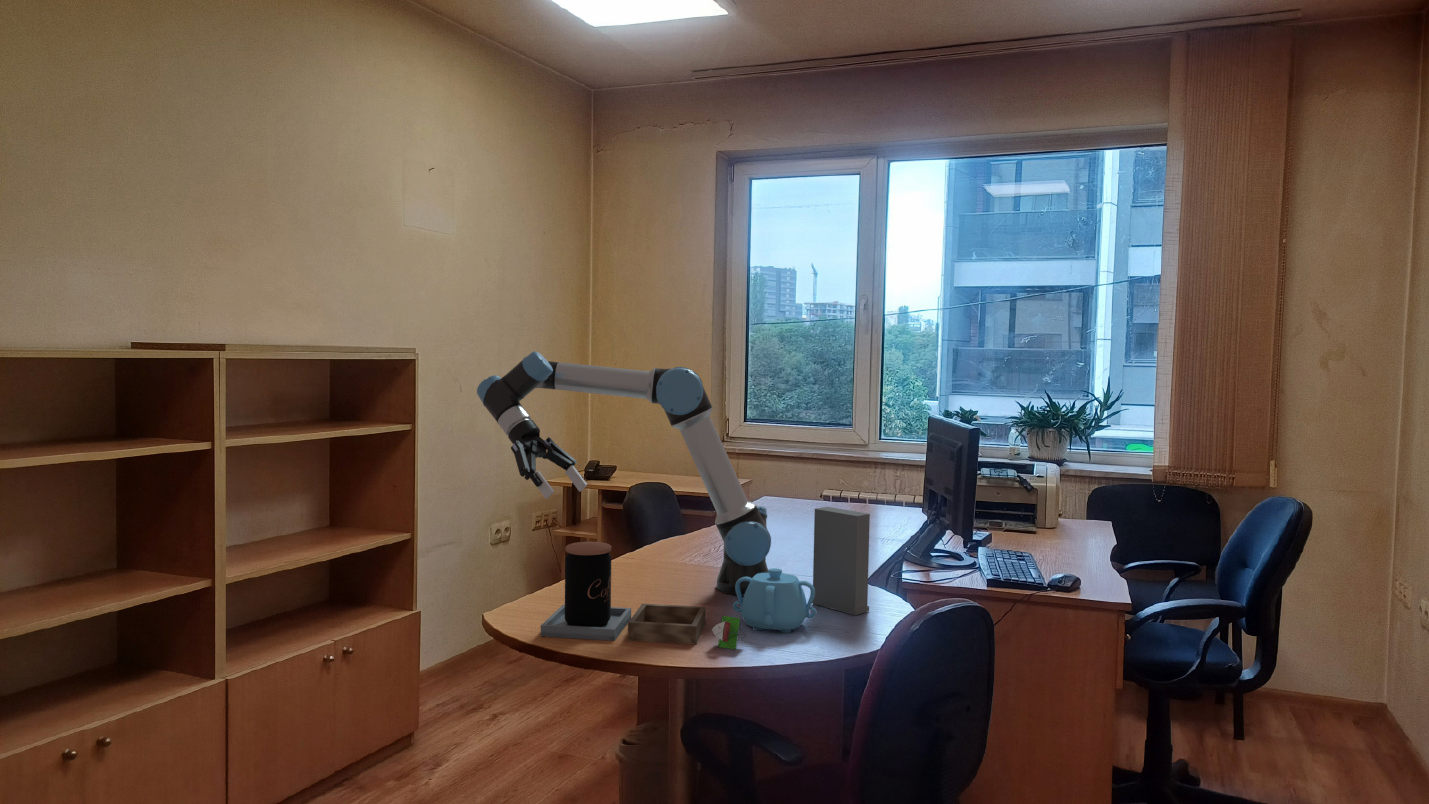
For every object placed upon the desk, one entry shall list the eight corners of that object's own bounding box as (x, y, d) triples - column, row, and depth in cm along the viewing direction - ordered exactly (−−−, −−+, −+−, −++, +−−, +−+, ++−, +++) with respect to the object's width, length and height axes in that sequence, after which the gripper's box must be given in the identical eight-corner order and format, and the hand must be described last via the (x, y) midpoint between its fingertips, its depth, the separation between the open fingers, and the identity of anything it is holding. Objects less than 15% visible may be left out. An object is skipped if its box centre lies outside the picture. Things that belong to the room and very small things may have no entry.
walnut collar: (705, 623, 206) (705, 606, 206) (696, 644, 190) (696, 626, 190) (641, 620, 208) (642, 603, 207) (627, 640, 192) (627, 622, 192)
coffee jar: (590, 632, 194) (591, 553, 193) (554, 624, 200) (555, 547, 199) (619, 621, 203) (620, 545, 202) (585, 613, 209) (585, 539, 208)
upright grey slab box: (869, 611, 218) (872, 513, 217) (855, 616, 214) (857, 516, 213) (826, 600, 228) (828, 506, 227) (811, 604, 224) (813, 508, 223)
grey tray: (631, 618, 209) (631, 608, 209) (614, 640, 192) (614, 629, 192) (563, 614, 211) (563, 604, 211) (540, 636, 194) (540, 625, 194)
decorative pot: (787, 613, 216) (788, 559, 215) (821, 631, 201) (822, 573, 201) (728, 620, 209) (729, 564, 208) (759, 640, 194) (760, 580, 194)
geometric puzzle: (723, 628, 195) (715, 605, 191) (752, 632, 193) (744, 609, 188) (713, 654, 190) (705, 632, 186) (742, 659, 188) (735, 636, 183)
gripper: (542, 434, 232) (587, 494, 226) (477, 441, 209) (525, 508, 203) (558, 415, 229) (605, 476, 223) (494, 420, 207) (544, 487, 201)
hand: (567, 491), depth 213 cm, fingers open, 13 cm apart
